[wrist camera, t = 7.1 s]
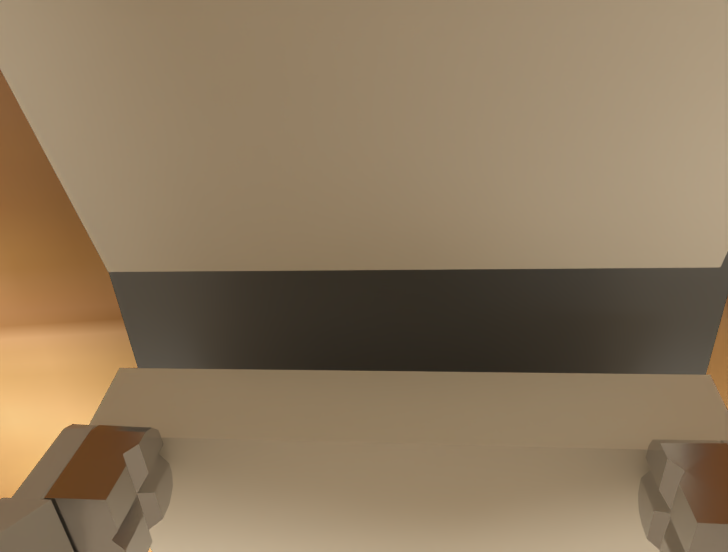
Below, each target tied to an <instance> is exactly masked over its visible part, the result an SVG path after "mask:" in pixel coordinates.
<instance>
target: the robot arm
mask: <svg viewBox="0 0 728 552" xmlns="http://www.w3.org/2000/svg"><path fill="white" fill-rule="evenodd" d="M162 446H163V441H162V438H161V436H160V433H159V430H157V429H154V428H150V427H130V426H110V425H98V426H96V425H78V424H72V425H70V426H68V427H66V428H65V429H63V430H62V432H61V433H60V434H59V436H58V437H57V438H56V440H55V441H54V442H53V444H52V445H51V446H50V448H49V449H48V450H47V452H46V453H45V454H44V456H43V457H42V458H41V459H40V461H39V462H38V463H37V465H36V466H35V467H34V469H33V470H32V471H31V473H30V474H29V475H28V477H27V478H26V479H25V481H24V482H23V483H22V485H21V486H20V487H19V489H18V490H17V491H16V493H15V494H14V495H13V496H12V498H2V499H0V552H148V550H149V548H150V546H151V544H152V542H153V541H152V538H151V535H150V531H149V529H151V528H152V527H153V526H154V525H156V524H157V523H158V522H159V521H161V520H162V519H163V518H164V515H165V513H166V511H167V509H168V506H169V504H170V499H171V493H172V488H173V481H172V471H171V468H170V464H169V463H168V462H167V461H166V460H165V459H164V458H163V457H162V456H160V455H159V452H160V450H161V448H162ZM646 460H647V462H648V464H649V467H650V469H651V470H650V471H649V472H648V473H646V474H645V475H644V476H643V477H641V480H640V486H639V491H638V504H639V514H640V519H641V523H642V527H643V529H644V532H645V535H646V538H647V540H649V541H650V542H651V543H652V544H653V545H654V546H655V547H657V548H658V549H659V550H660V552H728V440H721V441H717V440H657V439H653V440H652V442H651V443H650V444H649V446H648V450H647V454H646Z"/></svg>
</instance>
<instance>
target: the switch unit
mask: <svg viewBox="0 0 728 552" xmlns="http://www.w3.org/2000/svg"><path fill="white" fill-rule="evenodd" d="M109 275H110V278H111V281H112V285H113V288H114V291H115V294H116V298H117V301H118V304H119V307H120V311H121V314H122V317H123V320H124V324H125V327H126V330H127V333H128V337H129V340H130V343H131V347H132V350H133V353H134V356H135V360H136V363H137V366H138V368H168V369H255V370H341V371H427V372H514V373H600V374H687V375H706V372H707V368H708V365H709V361H710V357H711V354H712V350H713V346H714V343H715V339H716V335H717V332H718V328H719V325H720V321H721V317H722V314H723V310H724V306H725V303H726V299H727V295H728V252H727V254H726V256H725V258H724V260H723V263H722V265H721V267H716V268H581V269H446V270H310V271H175V272H109Z"/></svg>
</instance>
